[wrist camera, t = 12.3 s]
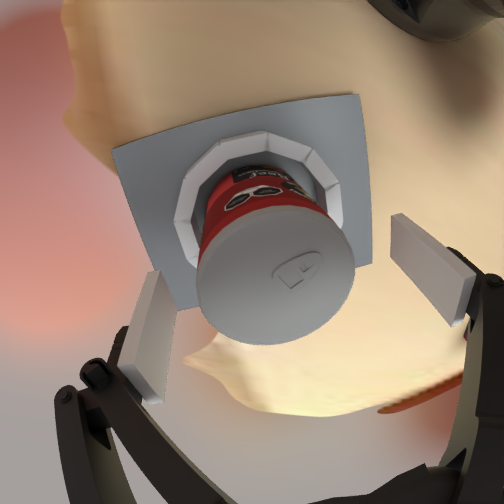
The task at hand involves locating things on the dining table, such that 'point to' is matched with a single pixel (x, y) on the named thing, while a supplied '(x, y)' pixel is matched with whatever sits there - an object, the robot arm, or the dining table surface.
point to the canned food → (270, 259)
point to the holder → (237, 156)
